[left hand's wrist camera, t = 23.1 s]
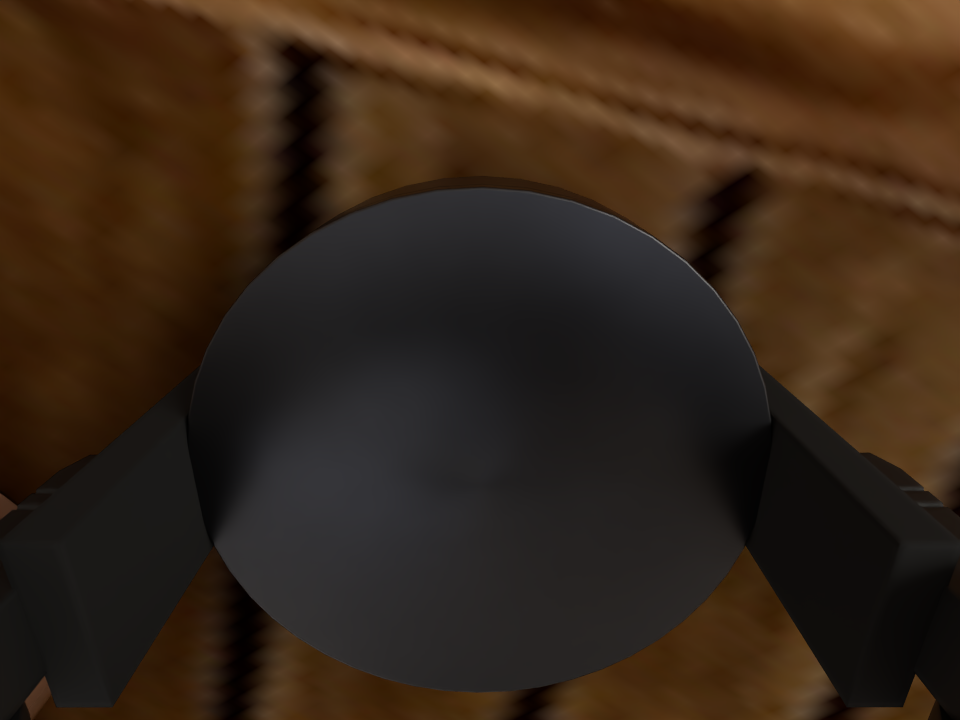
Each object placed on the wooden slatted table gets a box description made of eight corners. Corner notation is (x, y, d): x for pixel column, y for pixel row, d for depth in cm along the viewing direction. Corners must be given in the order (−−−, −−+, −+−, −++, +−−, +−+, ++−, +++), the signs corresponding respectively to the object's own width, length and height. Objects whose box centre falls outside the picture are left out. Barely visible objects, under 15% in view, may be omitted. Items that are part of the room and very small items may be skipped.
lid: (402, 678, 15) (392, 753, 13) (121, 345, 11) (57, 387, 10) (797, 511, 13) (847, 572, 11) (598, 56, 9) (624, 42, 8)
